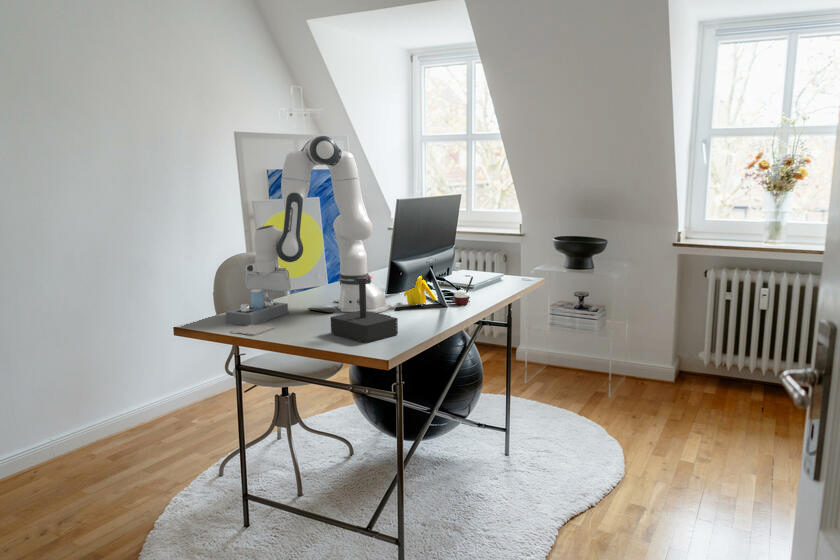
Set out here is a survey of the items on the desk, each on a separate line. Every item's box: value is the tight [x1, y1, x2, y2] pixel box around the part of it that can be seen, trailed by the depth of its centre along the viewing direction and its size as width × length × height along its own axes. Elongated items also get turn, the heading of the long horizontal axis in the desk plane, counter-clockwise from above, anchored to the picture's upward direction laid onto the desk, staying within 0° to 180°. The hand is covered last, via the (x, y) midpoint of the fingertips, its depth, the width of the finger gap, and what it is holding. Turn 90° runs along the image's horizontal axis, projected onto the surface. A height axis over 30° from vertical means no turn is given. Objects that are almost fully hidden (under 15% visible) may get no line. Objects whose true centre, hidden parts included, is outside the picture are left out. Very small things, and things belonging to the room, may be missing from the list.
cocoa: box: [450, 276, 474, 306], centre depth 264 cm, size 10×6×12 cm, turn 48°
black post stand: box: [330, 277, 399, 344], centre depth 218 cm, size 19×17×20 cm
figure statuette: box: [403, 275, 437, 306], centre depth 264 cm, size 18×8×22 cm, turn 50°
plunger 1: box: [240, 303, 250, 313], centre depth 240 cm, size 3×3×4 cm
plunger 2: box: [264, 300, 274, 306], centre depth 252 cm, size 3×3×4 cm
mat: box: [229, 324, 276, 336], centre depth 226 cm, size 11×11×1 cm
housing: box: [225, 300, 289, 326], centre depth 246 cm, size 22×12×4 cm, turn 154°
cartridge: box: [250, 289, 264, 310], centre depth 246 cm, size 5×5×11 cm
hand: (268, 301), depth 252 cm, fingers closed, pressing on plunger 2
